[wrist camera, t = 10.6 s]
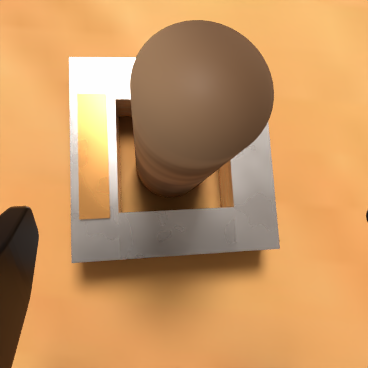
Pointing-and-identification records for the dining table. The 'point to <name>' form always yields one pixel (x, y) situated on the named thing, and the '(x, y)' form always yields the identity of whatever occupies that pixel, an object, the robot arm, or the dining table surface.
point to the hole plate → (153, 220)
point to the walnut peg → (195, 103)
